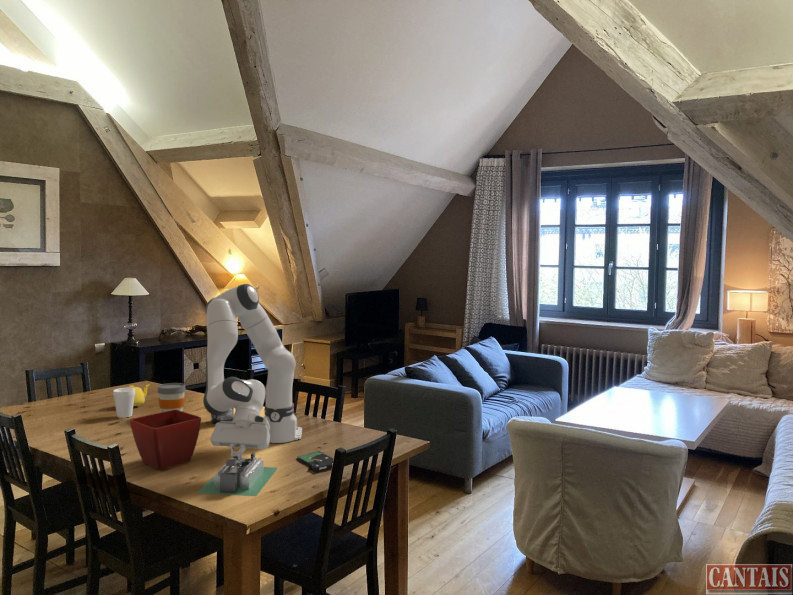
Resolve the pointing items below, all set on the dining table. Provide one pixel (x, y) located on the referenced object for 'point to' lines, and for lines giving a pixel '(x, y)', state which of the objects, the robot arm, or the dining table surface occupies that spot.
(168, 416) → the plant pot
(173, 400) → the reusable coffee cup
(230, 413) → the supplement container
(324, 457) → the disk drive
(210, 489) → the circuit board
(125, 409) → the foam cup
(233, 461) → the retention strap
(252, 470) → the heat sink
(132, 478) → the dining table surface
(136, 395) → the teapot
